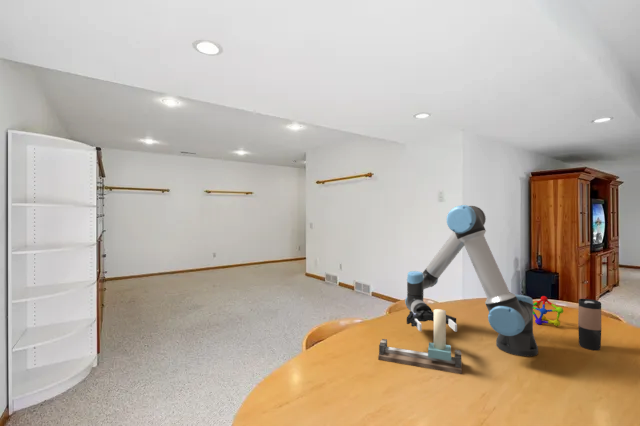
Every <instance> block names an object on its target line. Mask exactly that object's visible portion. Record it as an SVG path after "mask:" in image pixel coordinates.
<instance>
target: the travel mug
mask: <svg viewBox="0 0 640 426" xmlns="http://www.w3.org/2000/svg"><path fill="white" fill-rule="evenodd" d="M577 312H578V314H577V316H578V318H577V320H578V321H577V325H578V328H577V329H578V330H577V331H578V332H577V333H578V345H579V347H580V348H583V349H585V350H589V351H598V352H599V351H600V350H601V347H602V346H601V345H602V344H601V343H602V302H601V301H599V300H596V299H590V298H579V299H578V311H577Z"/></svg>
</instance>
